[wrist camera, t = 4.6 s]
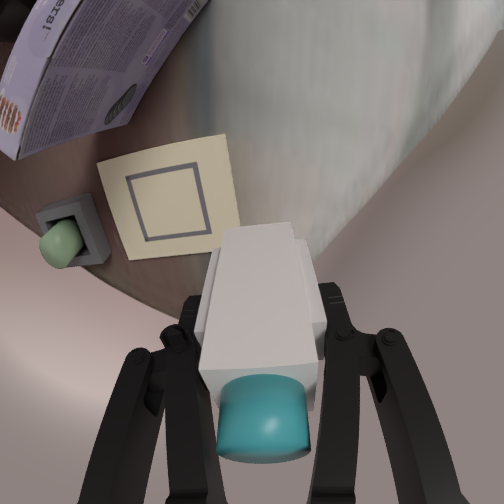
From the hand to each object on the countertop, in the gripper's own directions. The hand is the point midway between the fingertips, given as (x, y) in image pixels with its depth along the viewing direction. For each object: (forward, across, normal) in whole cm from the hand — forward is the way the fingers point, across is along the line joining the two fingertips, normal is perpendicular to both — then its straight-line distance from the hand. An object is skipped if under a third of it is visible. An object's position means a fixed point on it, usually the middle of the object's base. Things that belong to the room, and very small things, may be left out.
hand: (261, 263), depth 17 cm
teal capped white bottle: (+1, 0, 0) cm, 1 cm away
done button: (+14, -26, -2) cm, 30 cm away
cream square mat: (+16, -11, -1) cm, 19 cm away
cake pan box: (+16, -9, +18) cm, 26 cm away
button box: (+16, -26, -2) cm, 30 cm away
